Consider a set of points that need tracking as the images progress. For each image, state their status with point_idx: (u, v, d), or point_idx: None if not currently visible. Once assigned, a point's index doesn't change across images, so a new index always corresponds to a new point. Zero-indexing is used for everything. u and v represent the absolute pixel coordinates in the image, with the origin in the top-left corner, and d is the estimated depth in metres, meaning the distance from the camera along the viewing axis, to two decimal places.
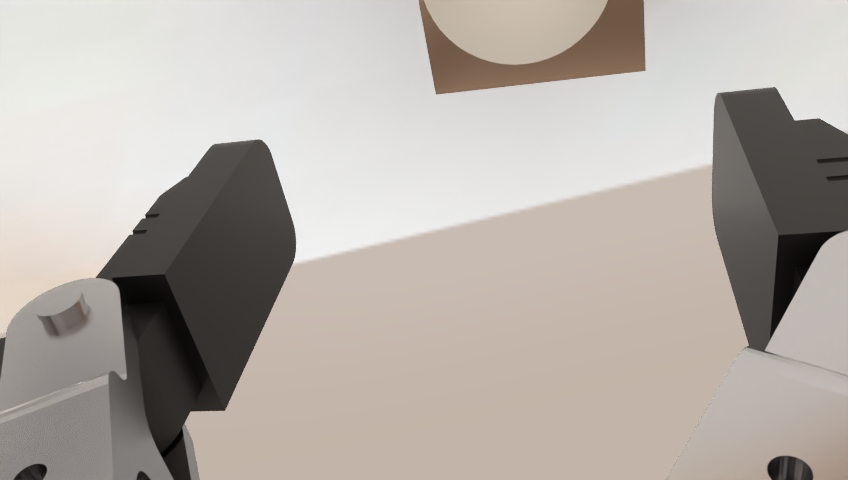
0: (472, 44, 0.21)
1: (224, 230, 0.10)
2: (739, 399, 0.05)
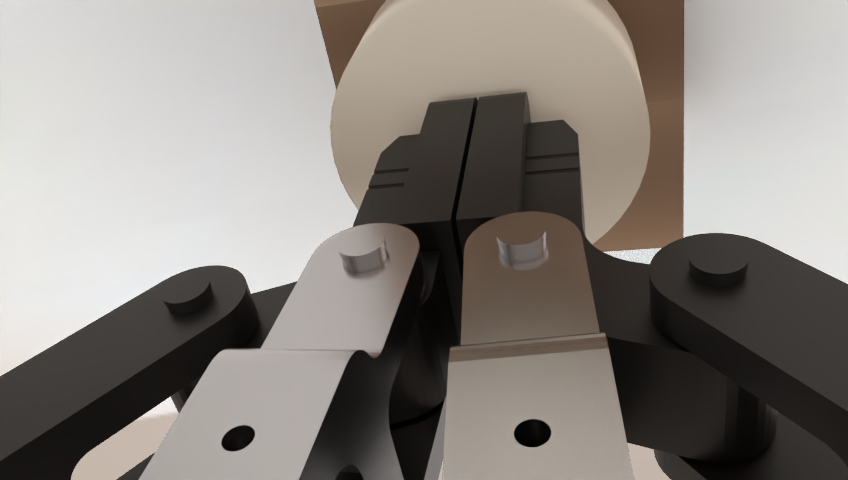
0: None
1: None
2: (468, 391, 0.06)
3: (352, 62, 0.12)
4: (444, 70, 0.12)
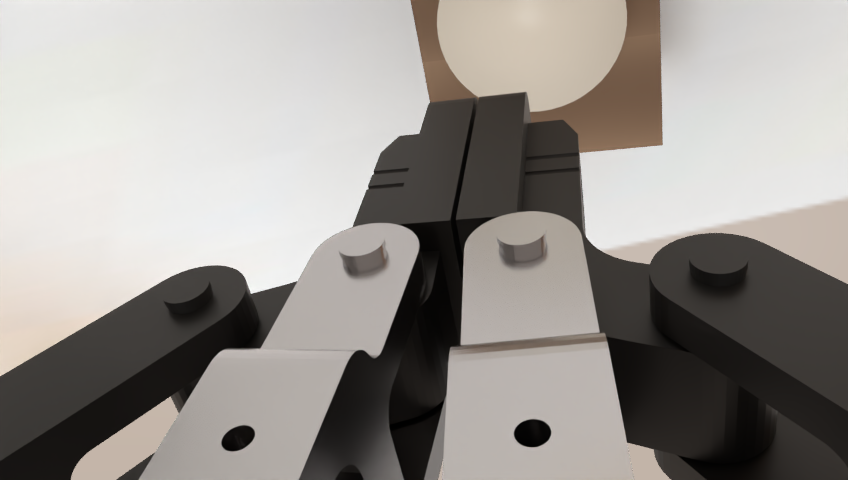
0: (488, 92, 0.22)
1: None
2: (467, 391, 0.06)
3: None
4: None
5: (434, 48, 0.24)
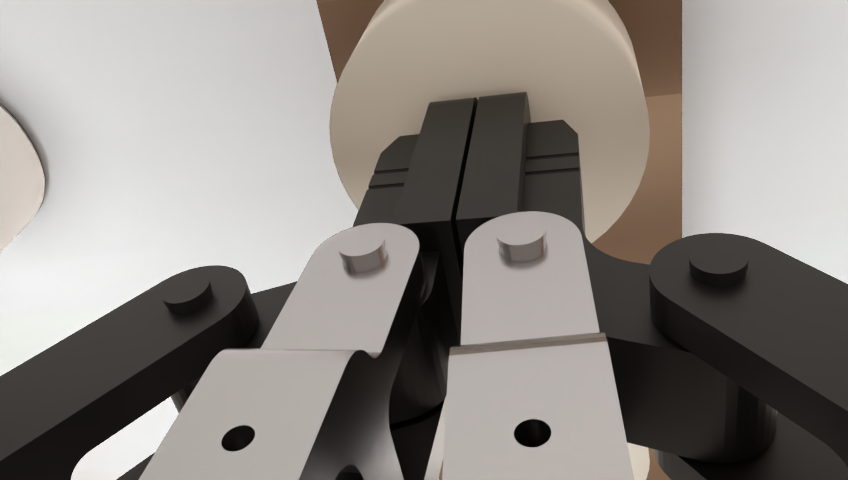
0: None
1: None
2: (467, 391, 0.06)
3: None
4: None
5: None
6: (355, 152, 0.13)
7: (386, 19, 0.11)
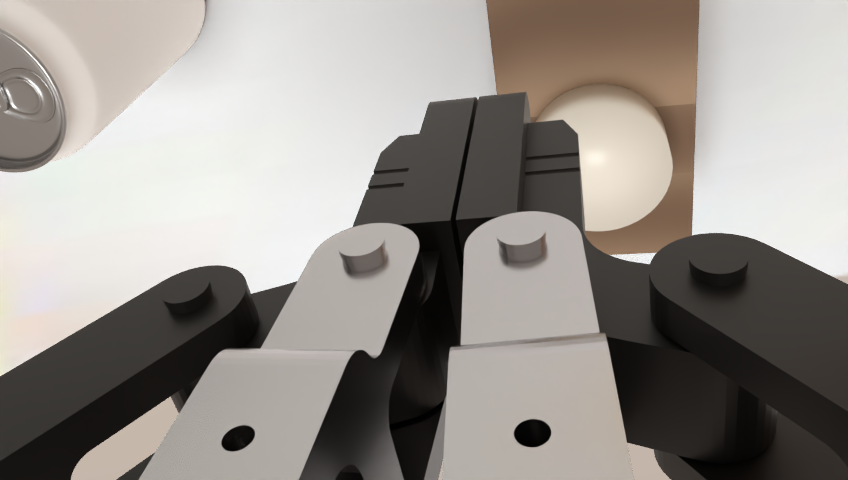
0: None
1: None
2: (468, 391, 0.06)
3: None
4: (584, 139, 0.27)
5: None
6: None
7: None
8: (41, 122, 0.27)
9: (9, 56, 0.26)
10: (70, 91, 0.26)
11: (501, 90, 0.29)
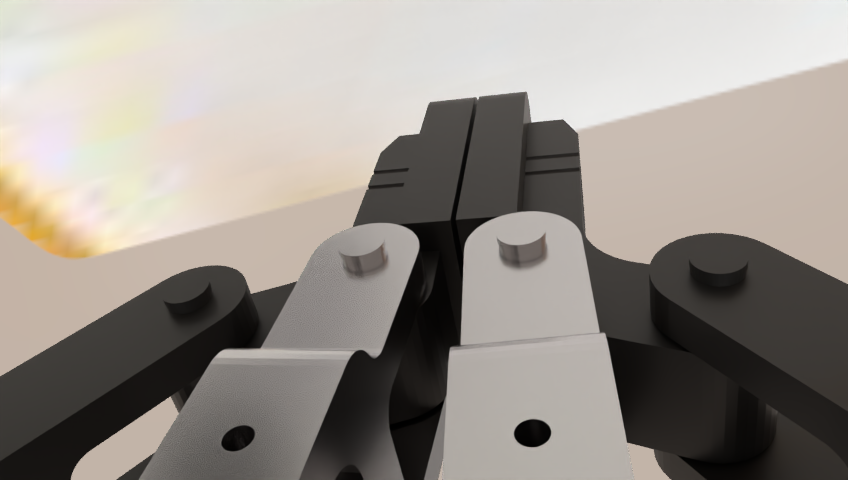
0: None
1: None
2: (467, 391, 0.06)
3: None
4: None
5: None
6: None
7: None
8: None
9: None
10: None
11: None
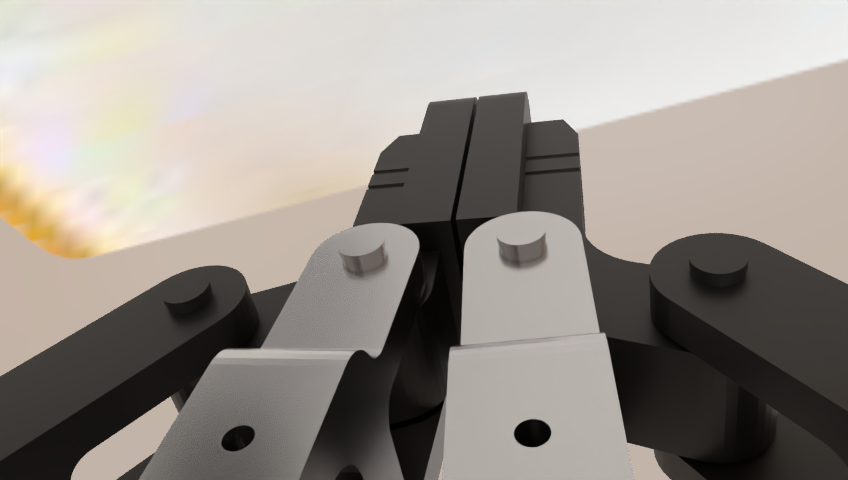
0: None
1: None
2: (467, 391, 0.06)
3: None
4: None
5: None
6: None
7: None
8: None
9: None
10: None
11: None
